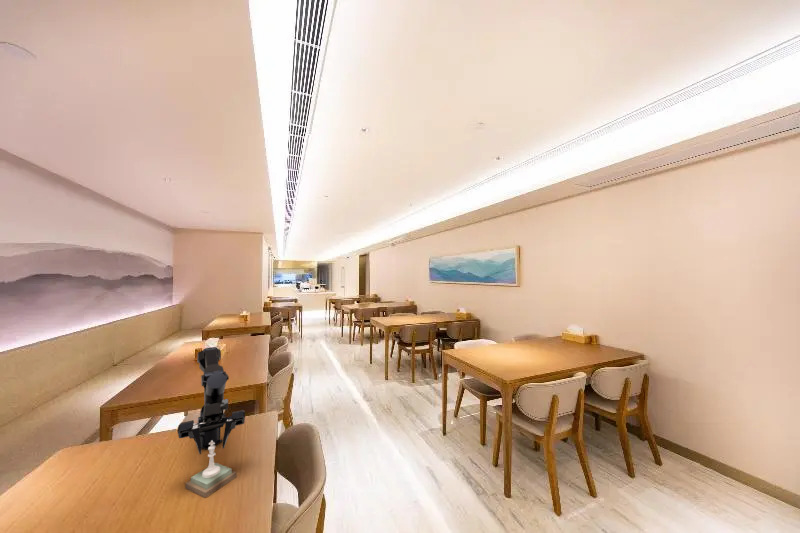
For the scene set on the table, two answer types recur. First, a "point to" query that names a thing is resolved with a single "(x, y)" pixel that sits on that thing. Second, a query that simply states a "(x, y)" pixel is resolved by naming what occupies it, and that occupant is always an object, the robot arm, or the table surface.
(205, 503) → the table surface
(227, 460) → the table surface
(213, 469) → the chess piece
